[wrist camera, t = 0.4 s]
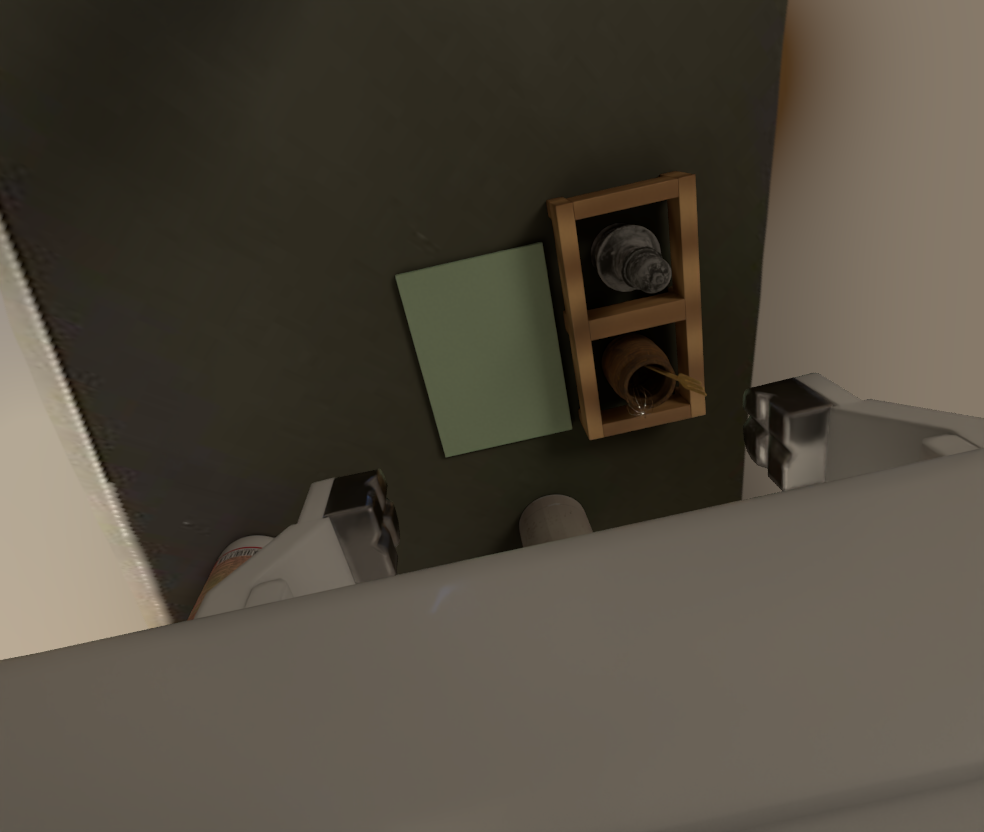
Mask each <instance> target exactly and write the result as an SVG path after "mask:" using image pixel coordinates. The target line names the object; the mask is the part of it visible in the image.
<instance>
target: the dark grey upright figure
mask: <svg viewBox="0 0 984 832" xmlns="http://www.w3.org/2000/svg"><path fill="white" fill-rule="evenodd" d="M591 261H592V265H593V267H594V268H595V270H596V271H597V272H598V274H599V276H600V277H601V279H602V281H603V282H604V283H605V284H606V285H607V286H608V287H610V288H612V289H614V290H617V291H622V292H625V291H633V290H636V289H638V290H639V289H641V290H642V291H644V292H646V293H657V292H659V291H661V290H663V289H664V288H665V287H666V286H667V285H668V283H669V282H670V279H671V268H670V266H669V264H668V263H667V262H666V261H665V260H664V259H663V258H662V256H661V250H660V244H659V242H658V240H657V238H656V237H655V235H654V234H653V233H652V232H651V231H650V230H648V229H646V228H644V227H642V226H637V225H630V224H626V223H615V224H612V225H609V226H607V227H606V228H604V229H603V230H601V231H600V233H599V234H598V235H597V236H596V238H595V239H594V241H593V243H592V247H591Z"/></svg>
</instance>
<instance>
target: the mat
mask: <svg viewBox="0 0 984 832" xmlns="http://www.w3.org/2000/svg"><path fill="white" fill-rule="evenodd" d="M395 278H396V282H397V285H398V289H399V292H400V296H401V300H402V303H403V307H404V310H405V314H406V317H407V321H408V325H409V328H410V332H411V335H412V339H413V343H414V346H415V350H416V353H417V357H418V360H419V364H420V368H421V371H422V375H423V378H424V382H425V385H426V389H427V393H428V396H429V400H430V403H431V407H432V410H433V414H434V418H435V421H436V425H437V428H438V432H439V435H440V439H441V443H442V446H443V450H444V453H445V457H450V456H455V455H459V454H463V453H468V452H472V451H477V450H481V449H486V448H490V447H495V446H499V445H504V444H508V443H513V442H517V441H522V440H526V439H531V438H535V437H540V436H544V435H549V434H553V433H558V432H562V431H567V430H571V429H572V423H571V417H570V411H569V405H568V398H567V392H566V386H565V380H564V373H563V367H562V361H561V355H560V349H559V342H558V336H557V330H556V324H555V318H554V311H553V305H552V299H551V293H550V287H549V280H548V274H547V268H546V262H545V255H544V249H543V243H542V242H538V243H534V244H529V245H525V246H521V247H516V248H512V249H507V250H503V251H499V252H494V253H490V254H485V255H481V256H477V257H472V258H468V259H463V260H459V261H454V262H450V263H446V264H441V265H437V266H432V267H428V268H424V269H419V270H415V271H410V272H406V273H402V274H397V275H395Z"/></svg>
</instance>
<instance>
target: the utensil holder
mask: <svg viewBox="0 0 984 832" xmlns="http://www.w3.org/2000/svg"><path fill="white" fill-rule="evenodd" d="M601 364H602V370H603V373H604V375H605V377H606V379H607V381H608V382H609V384H610V385H611V386H612V388H613V389H614V391H615V392H616V393H617V394H618V395H619V396H620V397H622V398H623V399H625V400H626V401H627V402H628V404H629V403H630V404H631V405H633V408H632V407H631V406H630V405H629V406H630V407H631V408H632V409H633V410H634V406H635V407H637V408H641V409H648V410H649V409H650V408H652V412H653V408H654V407H657V406H659V405H661V404H662V403H664V402H665V401H666V400H667V399H668V398H669V397H670V396H671V394H672V393H673V391H674V388H675V384H676V380H677V381H679V382H680V383H681V384H682V385H683V387H684V388H686V389H688V390H691V391H693V392H696V393H699V394H701V395H704V396H707V394H706V393H705V392H703V391H700V390H704V388H703V387H701V386H699V385H701V384H702V383H701V382H700V381H698V380H696V379H693V378H691V377H689V376H687V375H684V374H682V373H680V374H679V375H678V376H676V375H675V373H674V370H673V368H672V366H671V365H670V362H669V360H668V358H667V356H666V355H665V354H664V352H663V351H662V350H661V349H660V348H659V347H658V346H657V345H656V344H655V343H654V342H653V341H651V340H650V339H649V338H647V337H645V336H643V335H641V334H636V333H628V334H624V335H621V336H619V337H617V338H615V339H614V340H612V341H611V342H610V343H609V344H608V346H607V347H606V349H605V350H604V353H603V356H602V362H601ZM690 381H691V382H690ZM693 382H694V383H693ZM695 383H696V384H695ZM697 384H699V385H697ZM694 387H695V388H694ZM696 388H697V389H696ZM698 389H700V390H698ZM627 409H628V407H627ZM641 409H640V410H641ZM648 410H647V411H648ZM635 411H636V410H635ZM635 411H634V413H635ZM647 411H646V412H647ZM628 412H629V410H628ZM637 412H638V411H637ZM641 412H642V411H641ZM641 412H639V413H641ZM643 412H644V413H645V411H644V410H643ZM644 413H641V414H644ZM650 414H651V413H650ZM631 415H632V414H631ZM638 415H640V414H638ZM641 416H642V415H641ZM641 416H640V417H641ZM643 416H644V415H643ZM635 417H636V415H635ZM644 417H646V415H645V416H644ZM636 419H637V418H636ZM638 419H639V418H638ZM645 419H646V418H645Z"/></svg>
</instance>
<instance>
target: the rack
mask: <svg viewBox="0 0 984 832" xmlns="http://www.w3.org/2000/svg"><path fill="white" fill-rule="evenodd" d="M663 200H667V204H668V220H669V235H670V251H671V266H672V282H673V286H672V287H668V292H667V293H663V294H658V295H654V296H649V297H645V298H640V299H636V300H632V301H627V302H623V303H618V304H614V305H609V306H605V307H600V308H596V309H592V310H587V307H586V299H585V292H584V285H583V277H582V270H581V262H580V255H579V247H578V240H577V232H576V225H575V220H579V219H583V218H588V217H592V216H597V215H601V214H605V213H610V212H614V211H619V210H623V209H628V208H632V207H636V206H641V205H645V204H650V203H654V202H658V201H663ZM546 203H547V209H548V216H549V218H551V219H552V225H553V231H554V238H555V245H556V251H557V258H558V264H559V271H560V278H561V284H562V291H563V297H564V304H565V311H563V314H564V320H565V327H566V330H567V332H568V333H569V337H570V344H571V350H572V357H573V364H574V370H575V377H576V383H577V390H578V397H579V403H580V409H578V411H579V418H580V422H581V424H582V426H583V428H584V430H585V432H586V434H587V436H588V438H589V440H593V439H598V438H602V437H607V436H612V435H616V434H621V433H625V432H630V431H634V430H638V429H643V428H647V427H652V426H656V425H661V424H665V423H670V422H674V421H679V420H683V419H688V418H692V417H697V416H701V415H705V414H706V413H705V396H704V395H701V394H699V393H696V392H693V391H691V390H688V389H686V388H684V387H683V385H682V384H681V383H680V382H679V387H675V388H674V389H675V394H674V395H671V396H670V397H669V398H668V399H667V400H666V401H665V402H664V403H662V404H661V405H659V406H657V407H654V408H653V412H652V408H650V409H649V410H648V409H641V408H637V407H635V406H634V410H633V409H632V408H633V405H631V404H629V405H630V406H631V407H632V408H631V407H630V406H629V405H624V406H620V407H615V408H611V409H606V410H602V411H600V404H599V396H598V389H597V381H596V374H595V367H594V359H593V352H592V344H591V341H593V340H597V339H601V338H606V337H610V336H615V335H619V334H624V333H628V332H633V331H637V330H642V329H646V328H650V327H655V326H659V325H664V324H668V323H673V322H675V328H676V344H677V359H678V375H679V374H680V373H682V374H684V375H687V376H689V377H691V378H693V379H696V380H698V381H700V382H701V383H702V384H701V385H699V384H697V385H699V386H701V387H703V388H704V366H703V343H702V320H701V297H700V274H699V250H698V227H697V204H696V181H695V175H694V174H689V173H683V172H678V171H673V172H669V173H664V174H660V177H658V178H654V179H649V180H645V181H640V182H636V183H632V184H627V185H623V186H618V187H614V188H610V189H605V190H601V191H596V192H592V193H588V194H583V195H579V196H575V197H570V198H566V199H565V198H563V197H559V198H555V199H550V200H546ZM690 382H691V381H690ZM693 383H694V382H693ZM695 384H696V383H695ZM694 388H695V387H694ZM696 389H697V388H696ZM698 390H700V389H698ZM700 391H703V392H705V390H700ZM627 407H628V409H627ZM640 409H641V410H640ZM628 410H629V412H628ZM635 410H636V411H635ZM643 410H644V411H645V413H644V412H643ZM647 410H648V411H647ZM634 411H635V413H634ZM637 411H638V412H637ZM641 411H642V412H641ZM646 411H647V412H646ZM639 412H641V413H644V414H641V413H639ZM650 413H651V414H650ZM631 414H632V415H631ZM638 414H640V415H638ZM635 415H636V417H635ZM641 415H642V416H641ZM643 415H644V416H645V415H646V417H644V416H643ZM640 416H641V417H640ZM636 418H637V419H636ZM638 418H639V419H638ZM645 418H646V419H645Z"/></svg>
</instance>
